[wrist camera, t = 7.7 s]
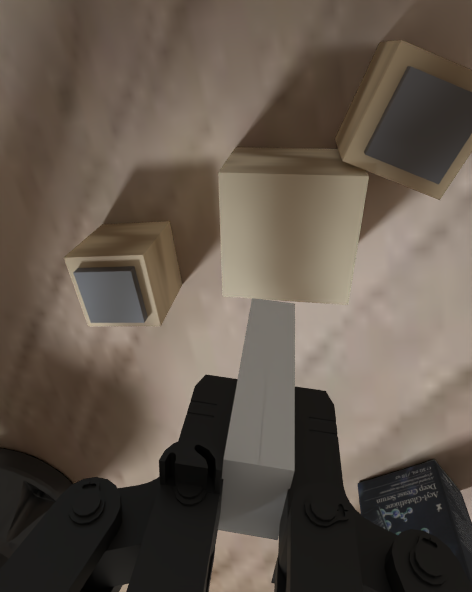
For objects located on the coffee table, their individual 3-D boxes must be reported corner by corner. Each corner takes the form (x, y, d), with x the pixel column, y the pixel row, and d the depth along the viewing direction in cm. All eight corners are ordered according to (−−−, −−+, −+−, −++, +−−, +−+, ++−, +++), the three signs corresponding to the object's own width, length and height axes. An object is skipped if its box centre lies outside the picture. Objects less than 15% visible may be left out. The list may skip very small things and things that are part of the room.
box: (432, 456, 35) (476, 592, 27) (461, 490, 37) (511, 628, 28) (354, 481, 39) (369, 609, 30) (384, 511, 41) (407, 641, 32)
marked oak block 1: (334, 138, 23) (343, 164, 18) (379, 41, 20) (404, 39, 15) (413, 170, 23) (443, 204, 18) (467, 79, 21) (520, 89, 16)
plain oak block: (237, 251, 28) (222, 296, 23) (236, 146, 24) (218, 172, 19) (339, 256, 27) (348, 304, 22) (354, 148, 23) (368, 176, 18)
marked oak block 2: (120, 285, 31) (84, 331, 26) (102, 224, 28) (58, 262, 23) (182, 284, 30) (157, 331, 25) (169, 220, 27) (139, 259, 22)
